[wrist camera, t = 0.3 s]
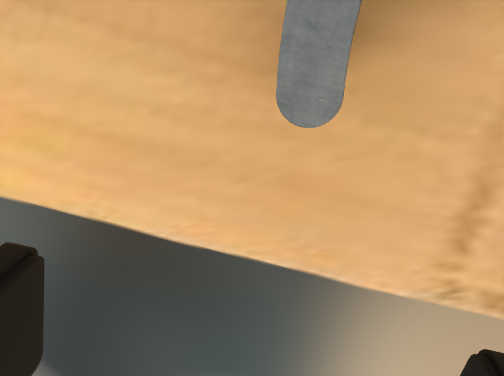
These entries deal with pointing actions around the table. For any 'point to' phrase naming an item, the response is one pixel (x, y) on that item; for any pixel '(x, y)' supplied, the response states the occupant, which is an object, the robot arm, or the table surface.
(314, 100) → the hip flask
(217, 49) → the table surface
